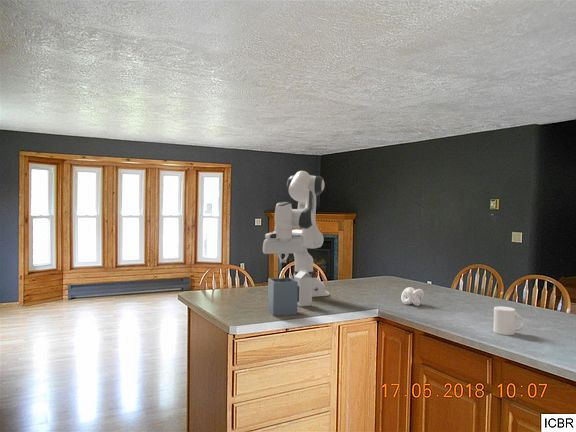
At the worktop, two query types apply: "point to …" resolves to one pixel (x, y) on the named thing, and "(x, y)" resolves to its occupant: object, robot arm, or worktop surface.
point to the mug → (506, 321)
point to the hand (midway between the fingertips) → (282, 262)
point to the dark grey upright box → (283, 296)
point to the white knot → (412, 296)
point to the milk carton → (304, 288)
